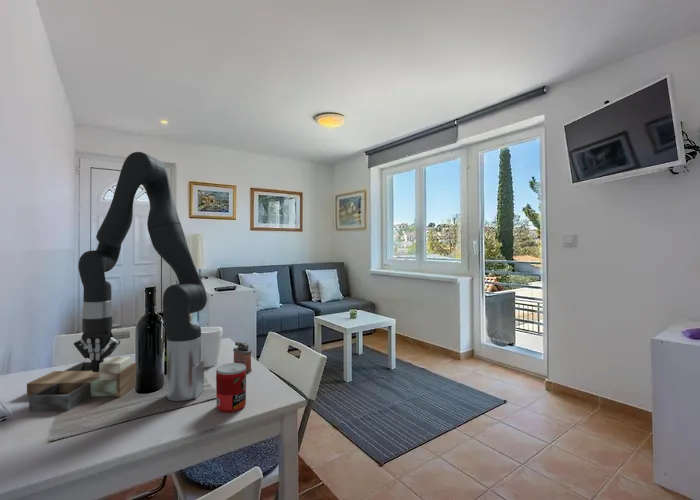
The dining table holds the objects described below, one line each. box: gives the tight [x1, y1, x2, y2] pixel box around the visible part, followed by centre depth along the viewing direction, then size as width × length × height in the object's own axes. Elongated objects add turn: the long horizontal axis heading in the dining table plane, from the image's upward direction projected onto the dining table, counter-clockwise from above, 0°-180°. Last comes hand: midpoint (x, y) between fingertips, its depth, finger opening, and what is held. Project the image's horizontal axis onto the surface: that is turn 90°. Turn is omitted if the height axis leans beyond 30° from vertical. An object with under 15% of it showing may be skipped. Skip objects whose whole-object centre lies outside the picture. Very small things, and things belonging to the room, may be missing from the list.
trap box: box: [26, 361, 137, 412], centre depth 109 cm, size 27×28×7 cm
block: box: [99, 356, 132, 380], centre depth 110 cm, size 6×6×5 cm
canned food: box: [215, 362, 247, 414], centre depth 99 cm, size 8×8×11 cm
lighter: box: [232, 341, 253, 374], centre depth 126 cm, size 8×3×10 cm, turn 58°
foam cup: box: [200, 326, 223, 368], centre depth 133 cm, size 10×9×13 cm
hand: (97, 371), depth 110 cm, fingers closed
